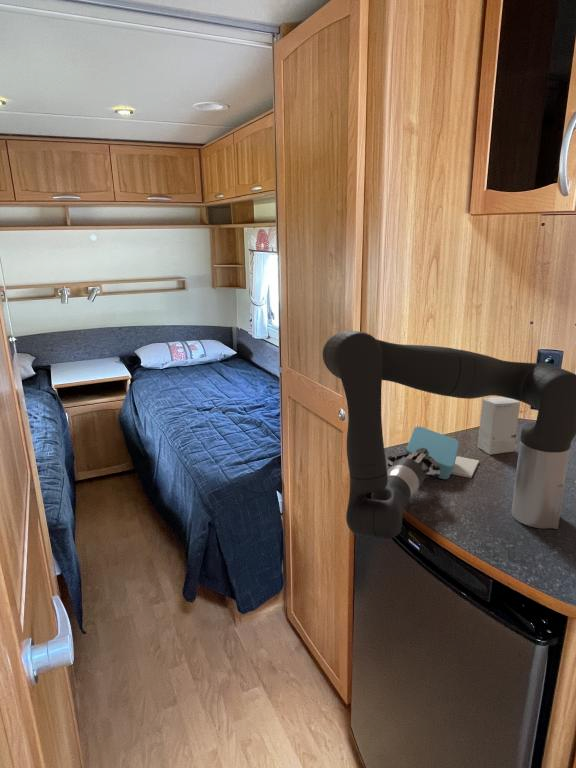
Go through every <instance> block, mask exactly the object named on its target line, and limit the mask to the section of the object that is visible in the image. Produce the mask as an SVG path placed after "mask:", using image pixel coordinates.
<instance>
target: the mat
mask: <svg viewBox="0 0 576 768" xmlns="http://www.w3.org/2000/svg"><path fill="white" fill-rule="evenodd" d="M479 463H480V460H478V459H472V458H467V457H463V456H459V455H458V456H456V460H455V465H454V467H453V470H452V472H451V474H450V475H455V476H460V477H465V478H469V479H472V477H473V475H474V473H475V471H476V469H477V467H478V465H479Z"/></svg>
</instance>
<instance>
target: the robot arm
mask: <svg viewBox="0 0 576 768" xmlns="http://www.w3.org/2000/svg"><path fill="white" fill-rule="evenodd" d="M322 359H323V362H324V363H323V364H324V365H325V368H327V370H328V371H329V372H330V374H332V375H333V376H334V377H336V378H338V379H340V381H341V383H342V387H343V391H344V394H345V398H346V405H347V413H348V419H347V420H348V421H347V422H348V423H347V430H346V431H347V434H346V455H347V458H346V459H347V465H348V470H349V471H348V472H349V478H350V481H349V482H350V484H349V493H348V494H349V495H348V502H347V506H346V507H347V508H346V514H345V515H346V516H345V520H346V524H347V527H348V529H349V530H350V531H351V532H352V534H354V535H355V536H361V537H368V538H369V537H370V538H375V539H376V538H377V539H382V540H390V539H394V538H396V537H397V536H398V535H399V534H400V533H401V531H402V528H403V527H402V526H403V517H404V516H403V515H404V511H405V510H404V509H405V507H407V505H408V504H409V502H410V501H411V499H413V497H414V496H415V495H416V493H417V492H418V491H419V489H420V487H421V485H422V484H423V482H424V481H425V479H427V478H429V476H430V474H433V475H434V476H433V475H432V476H433V477H435V478H438V477H440V465H439V464H438V463H437V462H436V461H435V460H434V459H433V458H432V457H431V456H428V455H429V451H427V449H426V448H420V449H417V451H416V452H413V453H412V454H410V452H406V451H403V452H399V453H395V454H390V455H388V456H387V459H386V451H385V444H384V436H383V435H384V434H383V422H382V420H383V419H382V416H383V415H382V388H383V386H382V384H383V381H386V382H391V383H395V384H399V385H403V386H406V387H409V388H412V389H415V390H418V391H422V392H426V393H428V394H429V393H430V394H434V395H439V396H443V397H444V396H445V397H449V398H456V399H478V398H485V397H488V396H495V397H507V398H511V399H514V400H517V401H519V402H520V403H524V404H527V405H528V406H530V407H532V408H535V409H536V410H538V411H537V416H536V421H535V423H533V422H532V423H529V424H525V425H524V426H523V427H522V428H521V431H520V439H519V444H518V445H519V446H518V454H517V462H516V463H517V464H516V470H515V471H516V472H515V480H514V487H513V495H512V502H511V512H510V513H511V516H512V517H513V519H515V520H516V521H517V522H519V523H520V524H522V525H525V526H527V527H531V528H535V529H536V528H537V529H555V530H558V529H559V524H560V518H561V517H560V516H561V512H562V511H561V510H562V505H563V498H564V493H565V491H564V490H565V485H566V476H567V469H568V464H569V458H570V457H569V456H570V451H571V444H572V441H573V439H574V438H575V437H576V373H574V372H572V371H569V370H566V369H563V368H561V367H559V366H556V365H552V364H548V363H539V362H522V361H521V362H520V361H508V360H502V359H499V358H496V357H493V356H489V355H486V354H482V353H479V352H478V353H477V352H473V351H469V350H464V349H458V348H452V347H447V346H446V347H444V346H434V345H421V344H401V343H399V344H398V343H393V342H388V341H384V340H380V339H377V338H375V337H374V336H373V335H371V334H369V333H367V332H364V331H358V330H357V331H356V330H344V331H340V332H337V333H335V334H334V335H332V336H331V337H329V339H328V340H327V341H326V343H325V344H324V346H323V349H322ZM404 456H405V458H404ZM387 467H389V468H388V469H387ZM368 494H371V495H370V498H368V497H367V496H368Z"/></svg>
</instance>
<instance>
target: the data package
mask: <svg viewBox="0 0 576 768" xmlns="http://www.w3.org/2000/svg"><path fill="white" fill-rule="evenodd" d="M459 446H460V442H459V440H458V439H455V438H454V437H452V436H448V435H445V434H443V433H440V432H436V431H434V430H431V429H429V428H426V427H422V426H415V427H414V428H413V431H412V433H411V436H410V438H409V441H408V443H407V446H406V449H405V452H410V454H412V453H413V452H416V451H417V449H420V448H426V449H427V451H429V455H428V456H431V457H432V458H433V459H434V460H435V461H436V462H437V463H438V464H439V465H440V477H437V478H439V479H442V480H448V479H449V478H450V477H451V475H452V474H451V472H452V470H453V467H454V465H455V460H456V456H457V455H458V451H459ZM403 458H405V456H404V457H403ZM430 475H431V476H433V477H435V476H434V475H433V474H429V476H430Z"/></svg>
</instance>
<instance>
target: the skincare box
mask: <svg viewBox="0 0 576 768" xmlns="http://www.w3.org/2000/svg"><path fill="white" fill-rule="evenodd" d="M520 406H521V401H518V400H515V399H511V398H507V397H502V396H495V397H494V396H493V397H486V398H485V397H482V401H481V410H480V419H479V428H478V430H479V431H478V439H477V448H478V449H480V450H482V451H483V452H484V453H486V454H487V455H490V456H491V455H492V456H493V455H497V454H503V453H512V452H515V448H516V447H515V445H516V438H517V431H518V430H517V429H518V422H519V414H520Z"/></svg>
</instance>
